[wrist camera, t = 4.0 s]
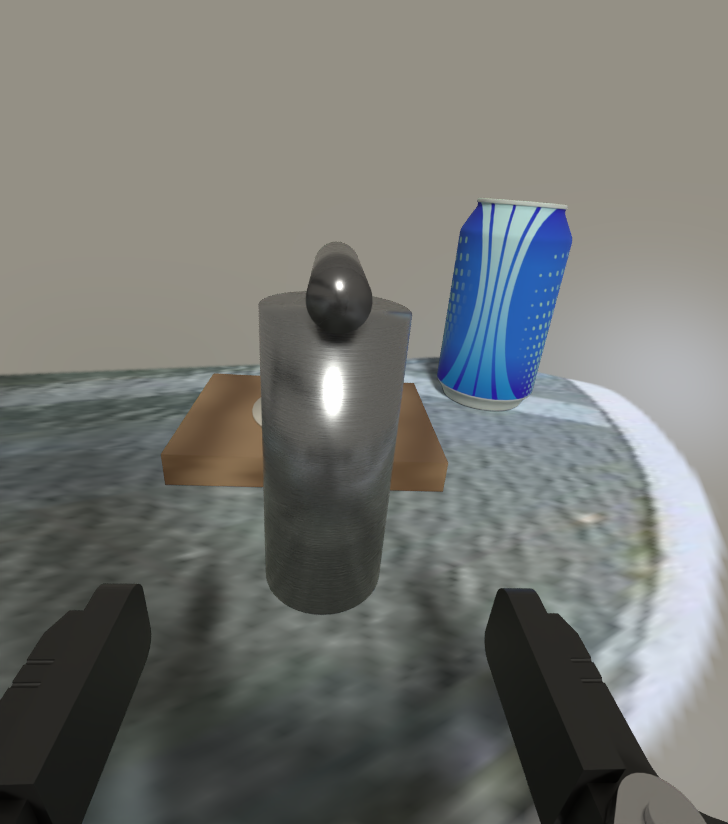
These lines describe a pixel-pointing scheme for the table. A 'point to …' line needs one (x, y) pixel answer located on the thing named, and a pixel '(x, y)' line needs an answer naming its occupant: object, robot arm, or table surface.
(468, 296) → the beer can
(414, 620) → the table surface
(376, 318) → the grey cylinder
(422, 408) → the block
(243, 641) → the table surface
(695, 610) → the table surface
